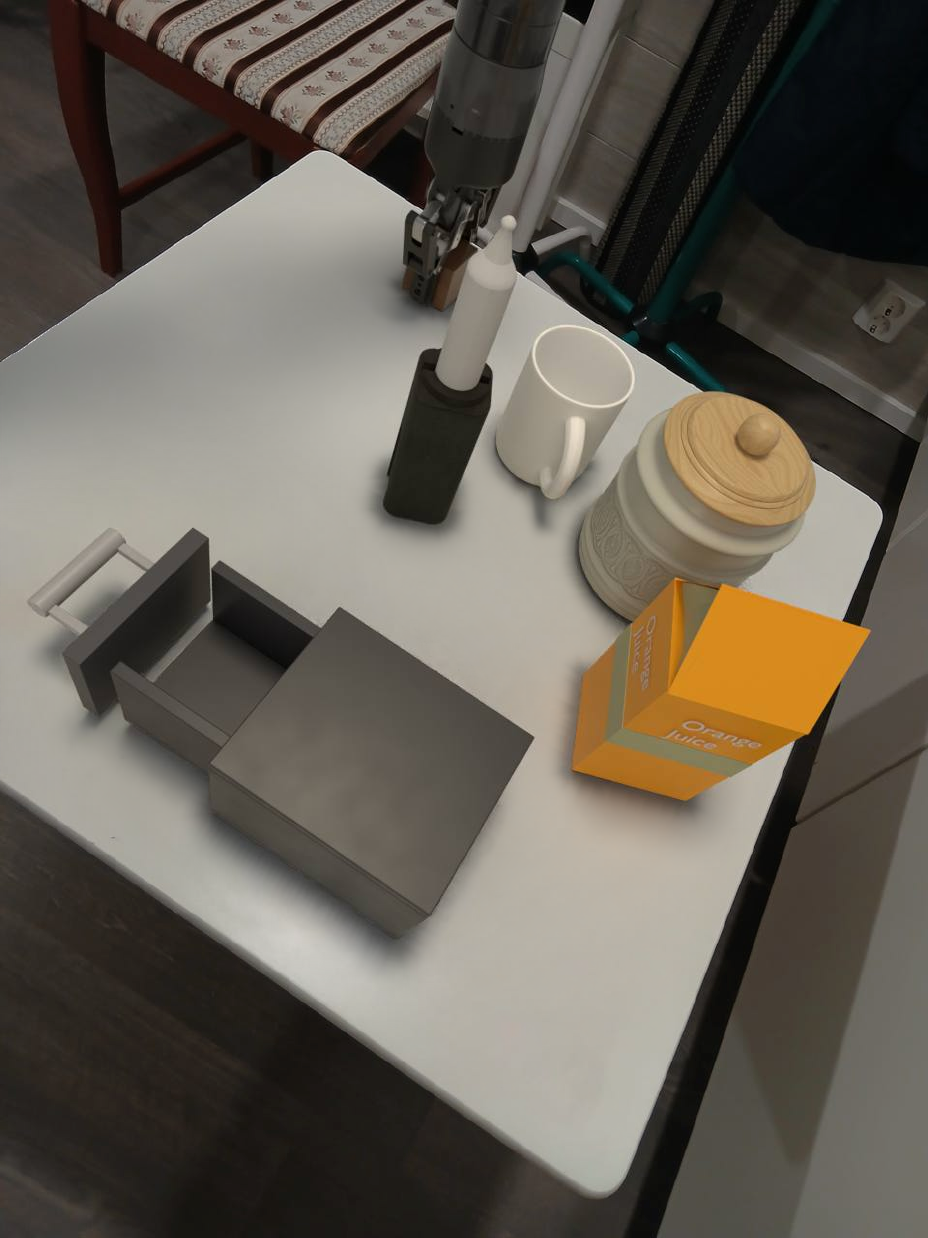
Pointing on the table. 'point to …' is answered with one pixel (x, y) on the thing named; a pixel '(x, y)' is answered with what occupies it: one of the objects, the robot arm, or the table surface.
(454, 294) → the block
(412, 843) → the fryer
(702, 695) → the orange juice
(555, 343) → the mug
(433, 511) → the candle
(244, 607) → the basket
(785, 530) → the jar
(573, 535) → the table surface
